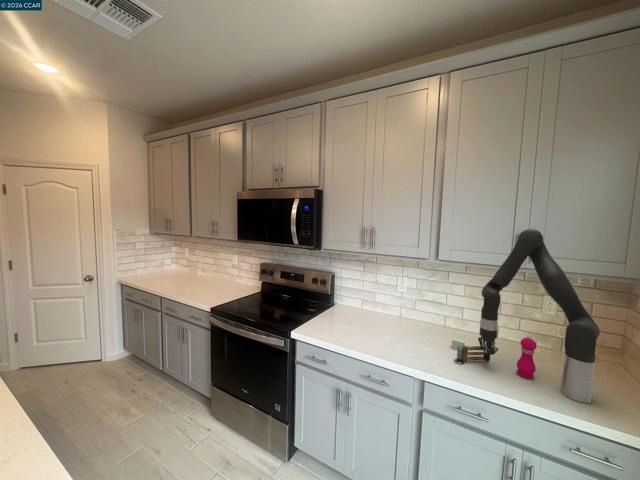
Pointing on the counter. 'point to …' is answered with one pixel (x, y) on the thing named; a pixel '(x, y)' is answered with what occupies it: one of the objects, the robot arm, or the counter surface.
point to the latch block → (457, 343)
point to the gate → (474, 358)
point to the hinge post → (459, 356)
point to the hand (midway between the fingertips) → (486, 360)
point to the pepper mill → (527, 358)
